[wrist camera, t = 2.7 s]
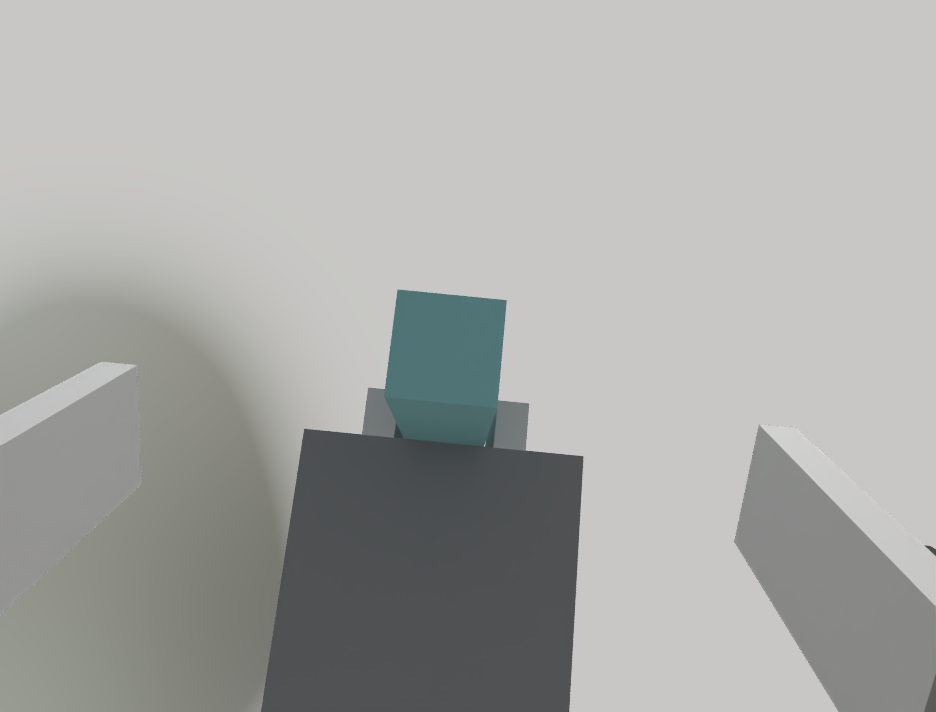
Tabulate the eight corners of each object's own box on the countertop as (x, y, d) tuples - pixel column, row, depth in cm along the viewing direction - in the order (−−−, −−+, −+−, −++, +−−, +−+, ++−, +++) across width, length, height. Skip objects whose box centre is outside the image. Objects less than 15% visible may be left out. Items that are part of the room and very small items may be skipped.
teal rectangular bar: (497, 407, 25) (506, 300, 26) (384, 396, 25) (397, 289, 26) (474, 473, 51) (479, 416, 52) (417, 467, 51) (423, 411, 52)
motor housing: (541, 1211, 29) (586, 409, 37) (190, 1176, 29) (311, 382, 37) (509, 975, 44) (546, 447, 52) (281, 952, 44) (353, 428, 52)
